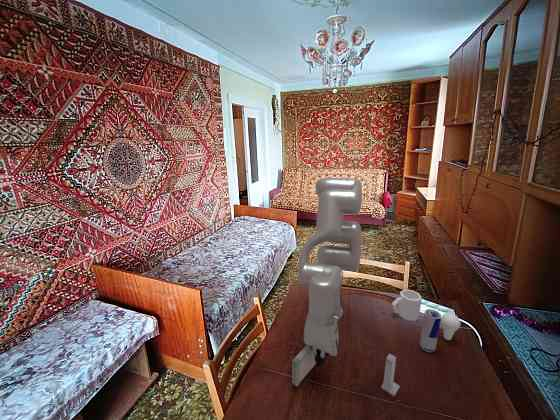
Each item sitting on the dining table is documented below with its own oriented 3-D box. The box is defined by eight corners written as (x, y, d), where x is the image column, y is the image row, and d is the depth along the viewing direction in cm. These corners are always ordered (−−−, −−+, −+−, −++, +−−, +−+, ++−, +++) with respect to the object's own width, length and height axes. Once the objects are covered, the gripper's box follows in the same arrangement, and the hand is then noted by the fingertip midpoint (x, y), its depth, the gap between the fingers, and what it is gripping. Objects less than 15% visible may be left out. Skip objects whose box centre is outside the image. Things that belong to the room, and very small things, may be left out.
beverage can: (437, 354, 92) (443, 318, 88) (421, 352, 93) (427, 317, 89) (432, 343, 97) (438, 309, 93) (417, 342, 98) (422, 307, 94)
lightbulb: (454, 335, 101) (458, 311, 98) (459, 347, 95) (464, 321, 92) (436, 332, 103) (440, 308, 100) (440, 343, 97) (444, 318, 94)
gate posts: (317, 345, 97) (318, 320, 94) (324, 339, 100) (324, 315, 97) (394, 396, 77) (398, 367, 74) (399, 387, 80) (403, 359, 77)
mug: (409, 307, 118) (412, 288, 115) (423, 319, 110) (426, 299, 107) (386, 311, 116) (388, 291, 113) (398, 324, 107) (400, 303, 105)
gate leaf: (324, 346, 95) (325, 325, 93) (329, 348, 94) (329, 327, 92) (292, 383, 81) (292, 360, 79) (297, 386, 80) (297, 363, 77)
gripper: (349, 315, 78) (346, 364, 82) (304, 301, 85) (303, 347, 90) (341, 331, 71) (338, 383, 76) (293, 314, 79) (293, 362, 84)
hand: (319, 363), depth 83 cm, fingers closed
